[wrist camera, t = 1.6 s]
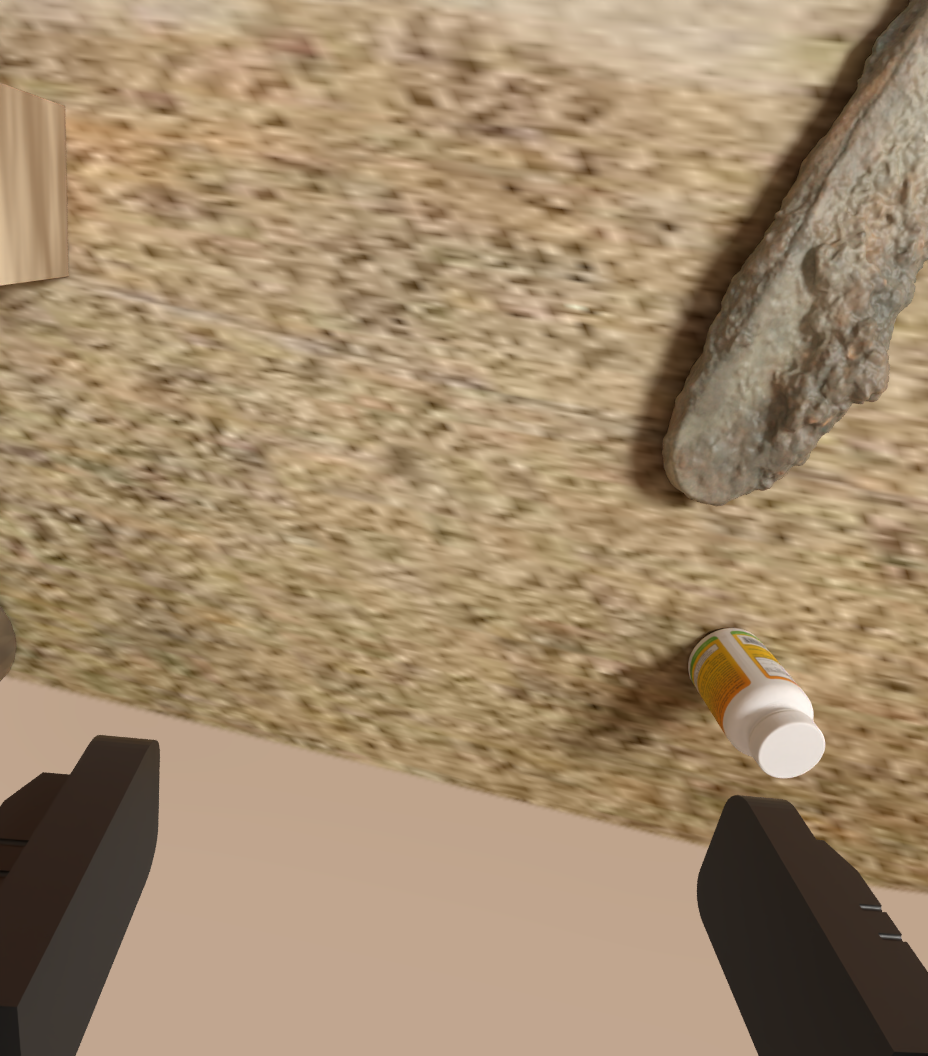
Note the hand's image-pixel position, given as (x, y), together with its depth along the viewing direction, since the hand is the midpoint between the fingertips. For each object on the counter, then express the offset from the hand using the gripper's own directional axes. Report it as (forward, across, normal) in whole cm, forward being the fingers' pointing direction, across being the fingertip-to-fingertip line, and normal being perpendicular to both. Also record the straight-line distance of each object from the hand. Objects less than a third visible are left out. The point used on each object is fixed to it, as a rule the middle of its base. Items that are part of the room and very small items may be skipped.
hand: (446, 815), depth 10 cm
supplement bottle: (+34, -24, +16) cm, 45 cm away
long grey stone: (+35, -22, -12) cm, 43 cm away
